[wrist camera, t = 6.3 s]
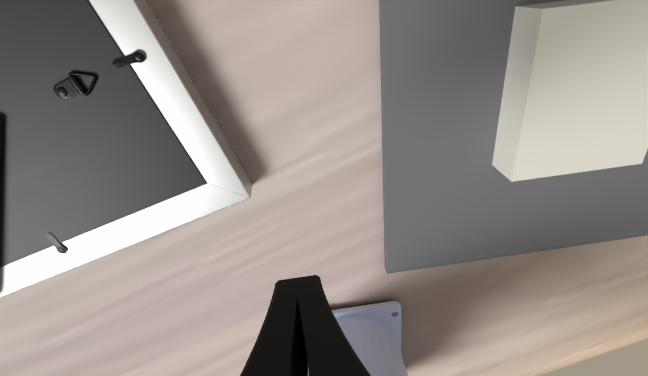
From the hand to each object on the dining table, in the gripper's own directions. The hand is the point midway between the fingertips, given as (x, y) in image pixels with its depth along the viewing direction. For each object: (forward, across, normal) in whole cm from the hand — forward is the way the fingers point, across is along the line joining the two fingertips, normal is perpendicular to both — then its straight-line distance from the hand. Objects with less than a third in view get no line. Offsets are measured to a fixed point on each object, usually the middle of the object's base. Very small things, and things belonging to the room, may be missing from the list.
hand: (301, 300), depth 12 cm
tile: (+8, -11, -3) cm, 14 cm away
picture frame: (+10, +14, -4) cm, 18 cm away
